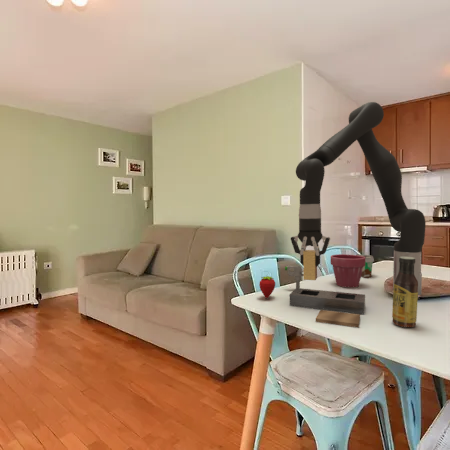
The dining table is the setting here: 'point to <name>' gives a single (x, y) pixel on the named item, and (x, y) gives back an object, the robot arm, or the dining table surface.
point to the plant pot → (347, 269)
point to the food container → (367, 266)
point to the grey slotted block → (328, 300)
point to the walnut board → (338, 318)
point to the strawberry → (267, 286)
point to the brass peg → (309, 265)
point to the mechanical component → (295, 273)
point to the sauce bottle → (405, 294)
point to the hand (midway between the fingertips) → (310, 265)
